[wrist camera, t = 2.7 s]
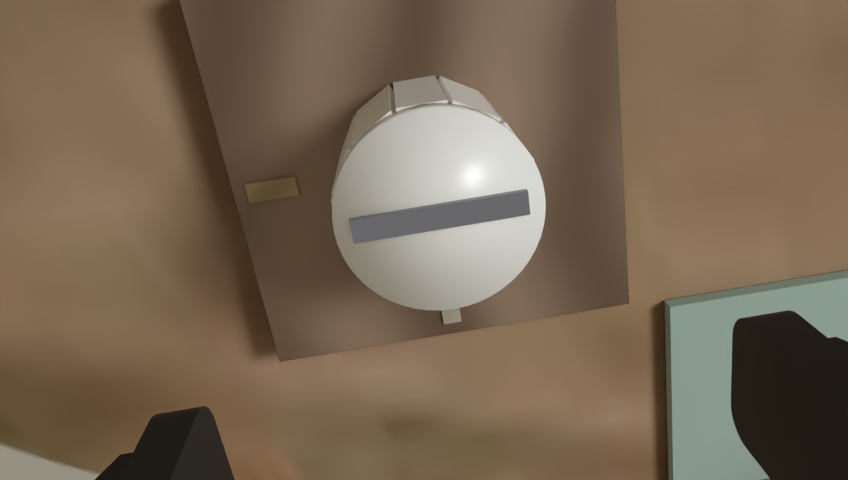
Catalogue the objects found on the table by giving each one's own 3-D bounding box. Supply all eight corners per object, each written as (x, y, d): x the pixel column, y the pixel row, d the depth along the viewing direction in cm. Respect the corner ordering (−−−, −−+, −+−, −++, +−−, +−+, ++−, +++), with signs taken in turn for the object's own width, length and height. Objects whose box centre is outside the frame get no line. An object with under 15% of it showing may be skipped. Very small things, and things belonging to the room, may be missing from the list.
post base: (597, -82, 23) (663, -98, 17) (616, 287, 28) (671, 360, 23) (188, -13, 23) (129, -9, 17) (284, 342, 28) (261, 428, 23)
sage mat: (946, 253, 28) (957, 259, 28) (916, 443, 32) (926, 452, 31) (664, 300, 28) (670, 307, 28) (668, 484, 32) (673, 493, 31)
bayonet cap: (501, 64, 23) (537, 92, 17) (518, 227, 25) (555, 295, 20) (326, 93, 23) (310, 129, 17) (360, 253, 25) (354, 328, 20)
